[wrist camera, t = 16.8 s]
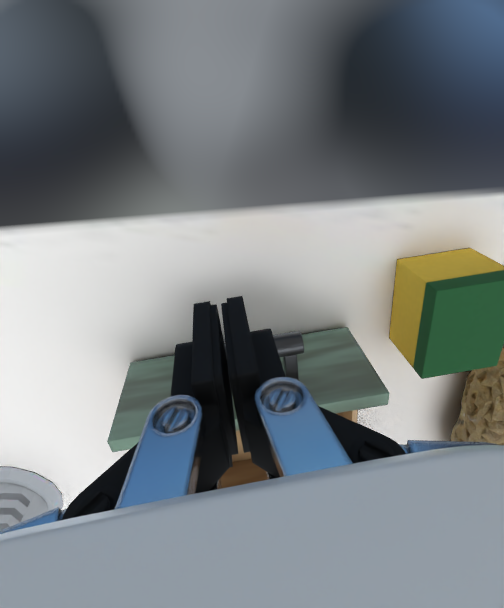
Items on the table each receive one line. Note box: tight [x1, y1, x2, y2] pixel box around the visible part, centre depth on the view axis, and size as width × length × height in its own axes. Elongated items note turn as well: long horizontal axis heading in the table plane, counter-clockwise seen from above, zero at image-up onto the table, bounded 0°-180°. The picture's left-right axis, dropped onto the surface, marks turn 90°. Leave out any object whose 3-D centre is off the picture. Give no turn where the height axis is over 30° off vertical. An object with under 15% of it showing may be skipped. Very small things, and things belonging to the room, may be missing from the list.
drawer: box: [107, 327, 389, 489], centre depth 26 cm, size 16×17×7 cm
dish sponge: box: [389, 248, 504, 379], centre depth 25 cm, size 6×7×5 cm
